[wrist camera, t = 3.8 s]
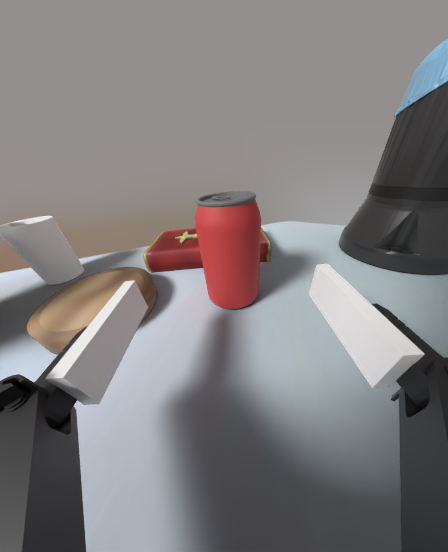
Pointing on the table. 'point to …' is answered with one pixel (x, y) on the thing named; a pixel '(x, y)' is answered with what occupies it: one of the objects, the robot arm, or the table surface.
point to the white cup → (43, 248)
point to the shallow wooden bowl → (84, 305)
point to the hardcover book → (185, 251)
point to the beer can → (230, 246)
